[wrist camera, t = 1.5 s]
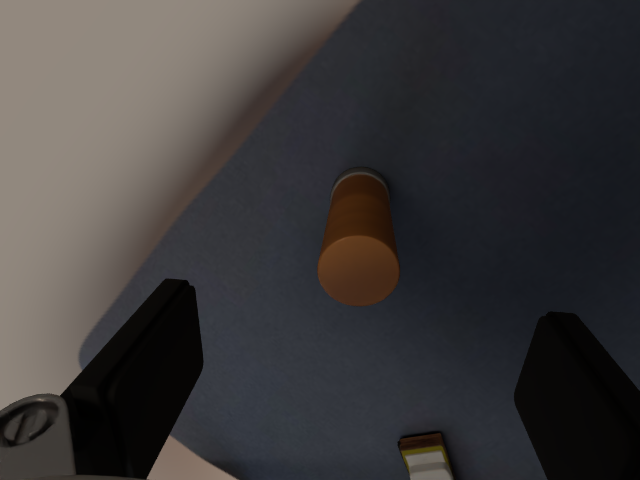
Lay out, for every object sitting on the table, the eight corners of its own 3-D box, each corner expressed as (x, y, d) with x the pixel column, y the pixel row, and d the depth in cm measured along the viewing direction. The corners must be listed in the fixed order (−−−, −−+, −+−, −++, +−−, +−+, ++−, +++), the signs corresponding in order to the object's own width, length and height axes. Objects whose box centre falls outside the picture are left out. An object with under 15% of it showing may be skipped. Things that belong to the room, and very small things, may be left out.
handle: (321, 182, 20) (298, 253, 13) (374, 156, 19) (380, 218, 12) (347, 229, 21) (338, 320, 14) (398, 207, 20) (416, 291, 13)
